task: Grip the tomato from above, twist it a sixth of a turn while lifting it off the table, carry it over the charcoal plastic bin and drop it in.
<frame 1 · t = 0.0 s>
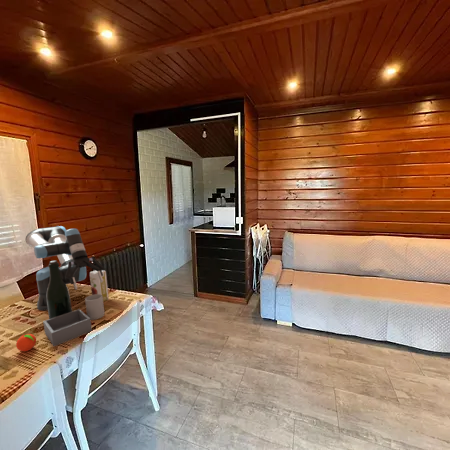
hand: (89, 285, 143), 15 cm above the table, tool tilted 35°, fingers open, 13 cm apart
bin: (68, 332, 123), on the table
juice carton: (100, 300, 158), on the table
wine bottle: (61, 321, 134), on the table
tomato: (28, 350, 110), on the table
mug: (96, 315, 140), on the table
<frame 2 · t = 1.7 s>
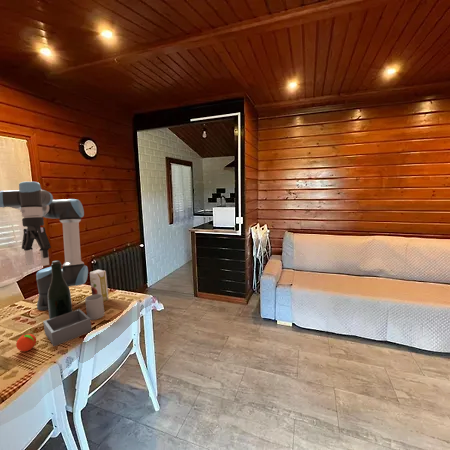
hand: (37, 265, 112), 36 cm above the table, tool pointing down, fingers open, 13 cm apart
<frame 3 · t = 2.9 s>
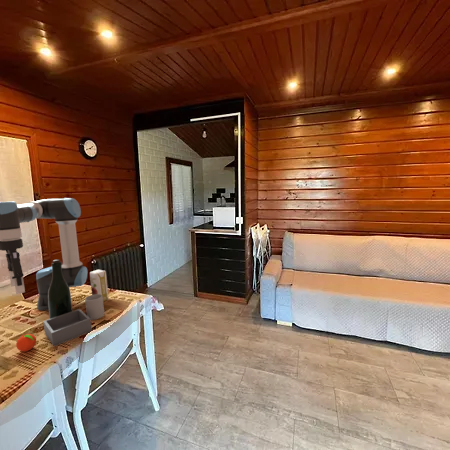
hand: (17, 289, 106), 28 cm above the table, tool pointing down, fingers open, 13 cm apart
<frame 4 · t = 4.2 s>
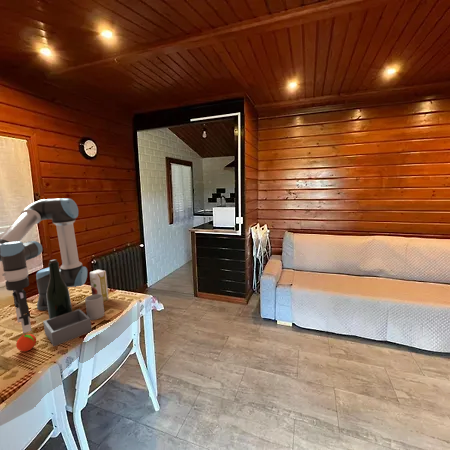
hand: (24, 326, 108), 11 cm above the table, tool pointing down, fingers open, 13 cm apart
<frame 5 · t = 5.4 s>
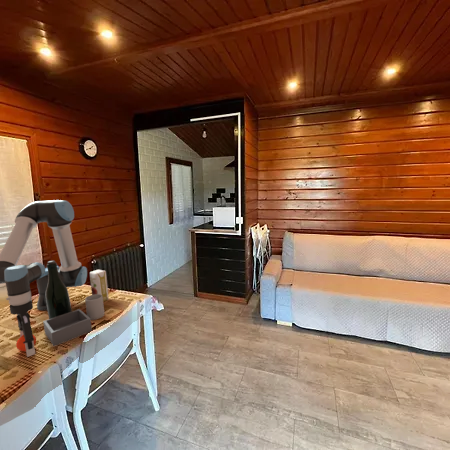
hand: (28, 349, 110), 0 cm above the table, tool pointing down, fingers open, 12 cm apart
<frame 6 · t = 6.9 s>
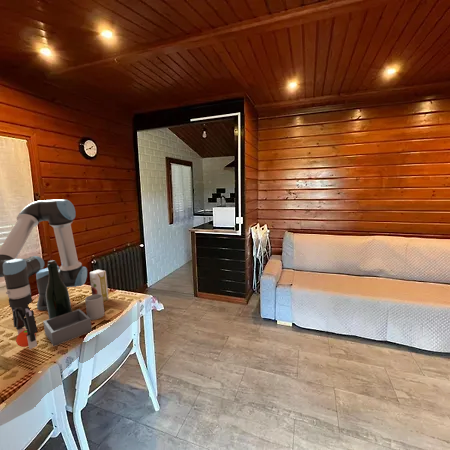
hand: (28, 344, 110), 2 cm above the table, tool pointing down, fingers closed on tomato, 7 cm apart
tomato: (28, 345, 110), point 2 cm above the table, touching gripper
everything else where it was.
when the fingers open (7 cm above the table, at t = 10.6 s): tomato drops 5 cm, resting on bin.
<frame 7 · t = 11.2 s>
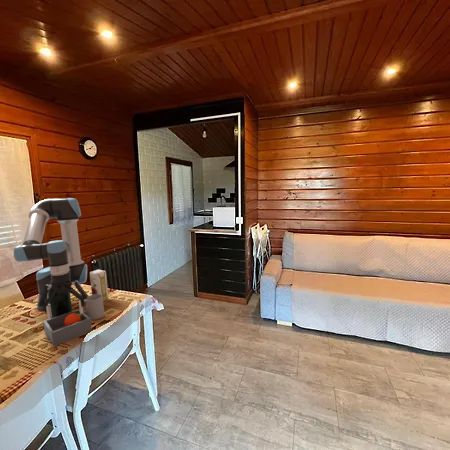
hand: (66, 315, 121), 9 cm above the table, tool pointing down, fingers open, 13 cm apart
tomato: (69, 327, 123), point 2 cm above the table, touching bin
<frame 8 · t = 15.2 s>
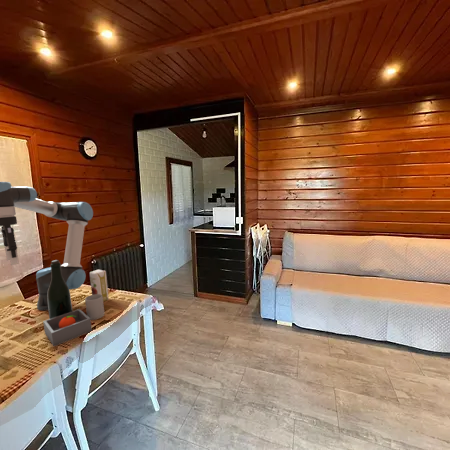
hand: (12, 262, 116), 37 cm above the table, tool pointing down, fingers open, 13 cm apart
tomato: (69, 330, 123), point 1 cm above the table, touching bin
everything else where it was.
at the end: tomato inside the target area on the bin (0.6 cm from its centre), point 0.8 cm above the bin's base; the gripper is holding nothing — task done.
